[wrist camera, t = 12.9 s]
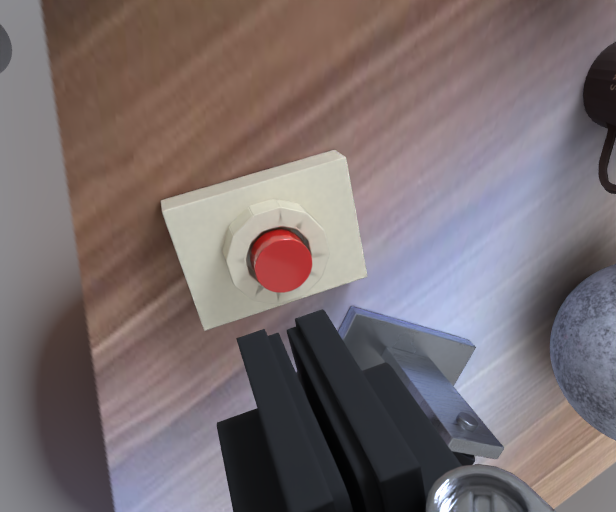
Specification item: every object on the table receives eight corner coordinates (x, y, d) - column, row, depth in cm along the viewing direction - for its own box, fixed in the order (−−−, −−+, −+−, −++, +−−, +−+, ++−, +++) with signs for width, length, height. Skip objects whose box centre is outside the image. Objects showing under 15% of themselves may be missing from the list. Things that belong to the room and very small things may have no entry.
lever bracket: (303, 399, 45) (353, 516, 35) (350, 305, 43) (419, 401, 33) (421, 423, 50) (495, 532, 40) (469, 339, 48) (561, 432, 37)
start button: (257, 287, 36) (263, 300, 34) (243, 238, 34) (248, 249, 33) (310, 270, 37) (317, 282, 35) (298, 221, 35) (305, 231, 33)
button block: (201, 315, 40) (207, 345, 36) (160, 200, 36) (162, 221, 32) (357, 264, 42) (377, 288, 38) (335, 149, 38) (355, 164, 34)
